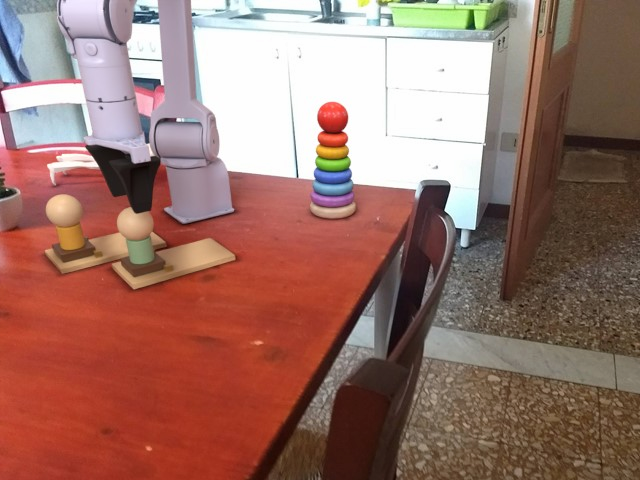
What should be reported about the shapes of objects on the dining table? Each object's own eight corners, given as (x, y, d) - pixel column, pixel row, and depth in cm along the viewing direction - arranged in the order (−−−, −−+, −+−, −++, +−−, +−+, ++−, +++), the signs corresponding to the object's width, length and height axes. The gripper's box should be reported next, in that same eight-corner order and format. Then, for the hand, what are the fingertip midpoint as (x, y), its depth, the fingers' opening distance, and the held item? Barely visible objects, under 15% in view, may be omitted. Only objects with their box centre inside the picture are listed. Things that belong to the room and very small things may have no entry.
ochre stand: (146, 230, 102) (144, 220, 101) (166, 246, 96) (165, 236, 96) (45, 254, 93) (42, 244, 92) (62, 274, 88) (59, 263, 87)
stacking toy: (345, 223, 106) (343, 109, 97) (302, 216, 108) (296, 104, 99) (362, 207, 113) (362, 100, 104) (321, 201, 115) (317, 95, 106)
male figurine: (52, 202, 117) (188, 178, 118) (38, 170, 114) (178, 146, 115) (74, 178, 129) (197, 157, 130) (62, 149, 126) (188, 128, 127)
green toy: (142, 199, 87) (108, 206, 84) (156, 208, 84) (121, 216, 81) (153, 257, 91) (121, 265, 89) (166, 268, 88) (133, 277, 85)
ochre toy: (72, 187, 90) (37, 194, 88) (83, 196, 87) (47, 203, 85) (86, 243, 95) (53, 251, 92) (96, 254, 92) (63, 262, 89)
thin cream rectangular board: (211, 242, 98) (209, 232, 97) (235, 259, 93) (234, 249, 92) (112, 268, 90) (110, 257, 89) (133, 289, 84) (131, 278, 84)
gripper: (58, 91, 80) (82, 194, 86) (97, 113, 70) (120, 227, 77) (115, 85, 84) (134, 184, 90) (159, 105, 74) (176, 213, 81)
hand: (131, 203), depth 84 cm, fingers open, 7 cm apart
